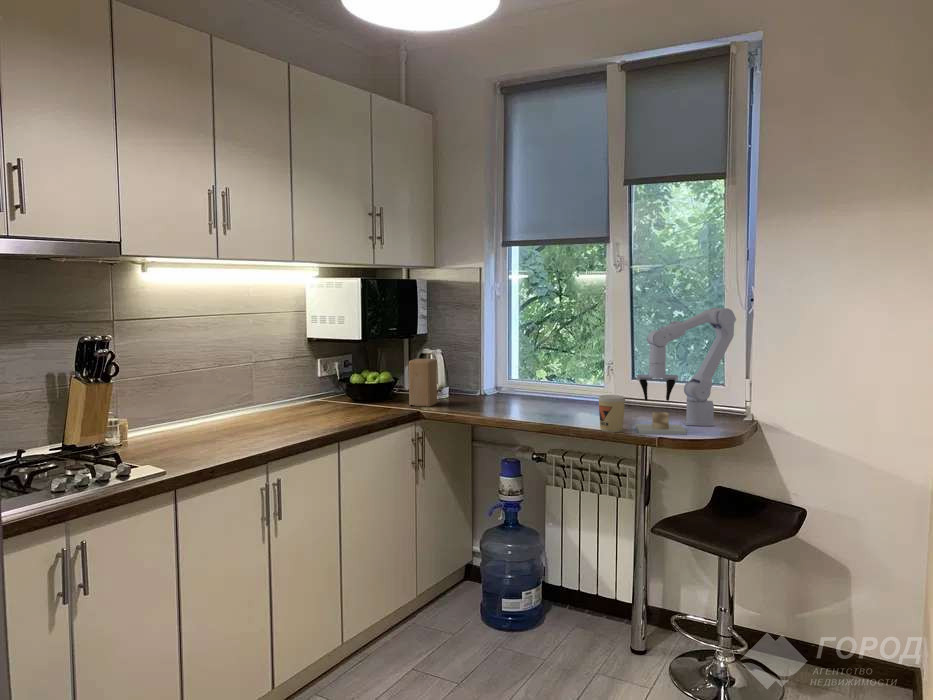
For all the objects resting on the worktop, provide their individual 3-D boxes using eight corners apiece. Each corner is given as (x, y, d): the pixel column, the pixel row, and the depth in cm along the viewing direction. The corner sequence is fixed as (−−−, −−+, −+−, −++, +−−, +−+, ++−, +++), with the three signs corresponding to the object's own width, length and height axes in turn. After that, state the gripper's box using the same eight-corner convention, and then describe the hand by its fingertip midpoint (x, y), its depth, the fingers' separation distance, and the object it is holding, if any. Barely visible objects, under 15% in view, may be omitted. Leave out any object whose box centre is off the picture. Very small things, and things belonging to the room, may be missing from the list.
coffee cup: (593, 428, 259) (593, 395, 258) (615, 426, 262) (615, 394, 261) (607, 433, 250) (607, 399, 249) (630, 431, 254) (630, 397, 253)
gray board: (680, 427, 259) (680, 424, 259) (686, 434, 247) (686, 431, 247) (635, 427, 261) (635, 423, 261) (639, 433, 249) (639, 430, 249)
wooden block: (408, 406, 311) (407, 360, 309) (416, 402, 320) (416, 358, 319) (430, 407, 308) (429, 360, 306) (437, 403, 317) (437, 358, 316)
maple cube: (666, 426, 256) (666, 412, 256) (668, 428, 251) (668, 414, 251) (652, 425, 257) (652, 412, 257) (653, 428, 252) (654, 414, 252)
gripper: (638, 364, 259) (637, 401, 260) (679, 364, 257) (679, 402, 258) (636, 362, 266) (635, 398, 267) (676, 362, 264) (675, 399, 265)
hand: (656, 400), depth 263 cm, fingers open, 7 cm apart
